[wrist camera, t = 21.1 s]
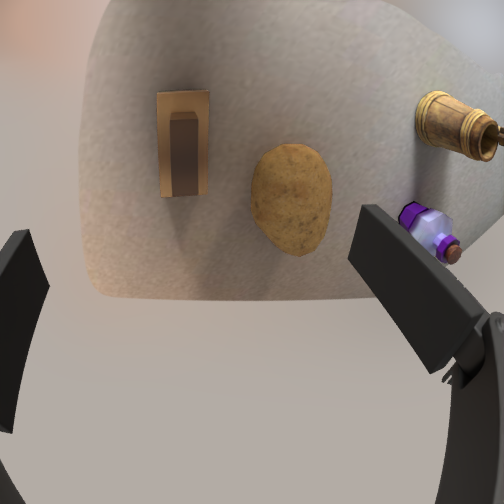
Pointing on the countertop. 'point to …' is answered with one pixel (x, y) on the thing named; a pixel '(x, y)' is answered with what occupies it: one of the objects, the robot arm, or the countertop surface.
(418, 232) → the potion bottle
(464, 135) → the wooden mug
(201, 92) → the brush
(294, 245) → the potato
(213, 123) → the countertop surface
